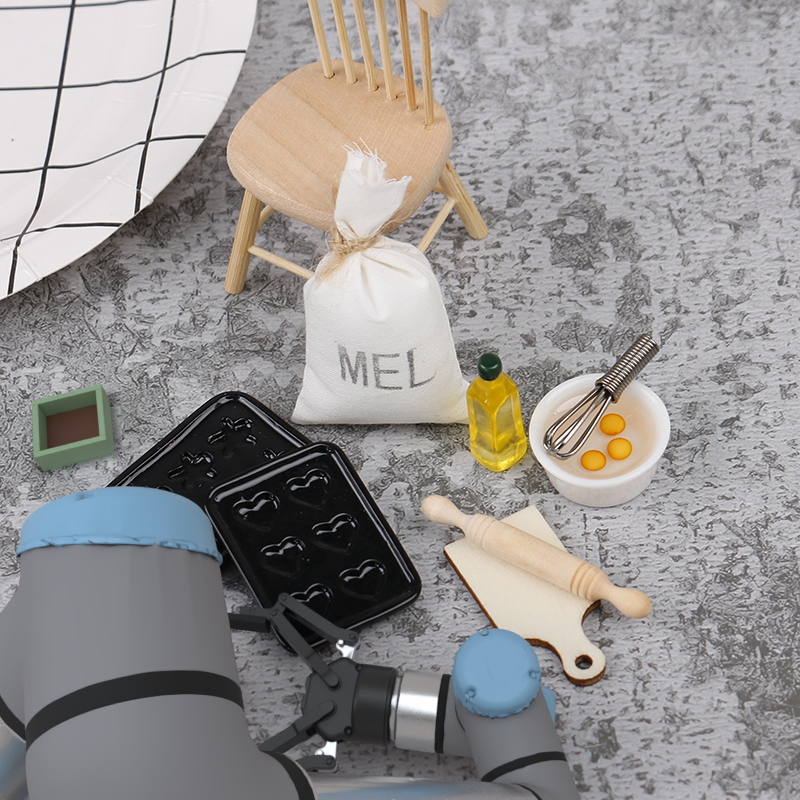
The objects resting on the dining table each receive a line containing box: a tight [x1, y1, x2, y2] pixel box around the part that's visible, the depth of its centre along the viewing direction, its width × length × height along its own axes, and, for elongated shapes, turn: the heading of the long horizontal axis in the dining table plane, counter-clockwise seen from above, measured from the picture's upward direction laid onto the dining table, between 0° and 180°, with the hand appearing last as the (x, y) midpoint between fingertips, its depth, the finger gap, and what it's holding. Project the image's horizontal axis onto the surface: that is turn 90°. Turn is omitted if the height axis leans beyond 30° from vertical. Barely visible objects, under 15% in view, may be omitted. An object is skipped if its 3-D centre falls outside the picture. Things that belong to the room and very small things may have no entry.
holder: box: [31, 383, 115, 472], centre depth 122 cm, size 9×9×4 cm
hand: (190, 681), depth 96 cm, fingers open, 13 cm apart
